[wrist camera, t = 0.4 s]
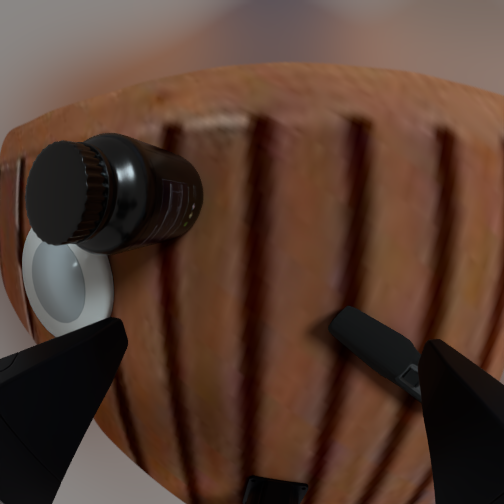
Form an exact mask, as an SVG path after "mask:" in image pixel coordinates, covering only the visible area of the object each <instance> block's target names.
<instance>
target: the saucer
mask: <svg viewBox="0 0 504 504" xmlns="http://www.w3.org/2000/svg"><path fill="white" fill-rule="evenodd" d="M22 270H23V279H24V285H25V289H26V293H27V296H28V299H29V301H30V304H31V306H32V308H33V310H34V312H35V314H36V315H37V317H38V319H39V320H40V321H41V323H42V324H43V325H44V327H45V328H46V329H47V330H48V331H49V332H50V333H51V334H53V335H54V336H55V337H59V336H62V335H64V334H67V333H69V332H72V331H74V330H77V329H80V328H82V327H85V326H87V325H90V324H92V323H95V322H98V321H100V320H103V319H105V318H108V317H110V316H111V312H112V308H113V301H114V284H113V276H112V271H111V267H110V263H109V260H108V257H107V255H105V256H101V255H94V254H91V253H88V252H86V251H84V250H82V249H81V248H79V247H78V246H77V245H75V244H66V245H59V246H54V245H48V244H47V243H46V242H42V240H41V239H40V238H38V237H37V235H36V233H35V232H33V229H32V228H31V230H30V232H29V234H28V236H27V239H26V242H25V245H24V250H23V259H22Z"/></svg>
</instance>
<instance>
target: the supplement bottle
mask: <svg viewBox="0 0 504 504" xmlns="http://www.w3.org/2000/svg"><path fill="white" fill-rule="evenodd" d="M25 200H26V210H27V216H28V218H29V223H30V225H31V226H32V229H33V232H35V233H36V235H37V237H38V238H40V239H41V240H42V242H46V243H47V244H48V245H54V246H59V245H66V244H75V245H77V246H78V247H79V248H81V249H82V250H84V251H86V252H88V253H91V254H94V255H101V256H105V255H113V254H118V253H121V252H125V251H129V250H133V249H136V248H140V247H144V246H148V245H152V244H155V243H159V242H163V241H167V240H170V239H174V238H176V237H178V236H180V235H182V234H183V233H185V232H186V231H187V230H189V229H190V228H191V226H192V225H193V224H194V223H195V221H196V219H197V218H198V216H199V213H200V211H201V208H202V203H203V186H202V182H201V179H200V176H199V174H198V172H197V171H196V169H195V168H194V166H193V165H192V164H191V163H190V162H189V161H187V160H186V159H184V158H183V157H181V156H179V155H176V154H174V153H172V152H169V151H167V150H164V149H161V148H159V147H156V146H153V145H150V144H148V143H145V142H142V141H139V140H137V139H134V138H131V137H128V136H125V135H121V134H117V133H103V134H99V135H96V136H93V137H91V138H89V139H87V140H86V141H84V142H71V141H59V142H54V143H53V144H50V145H48V146H47V147H46V148H45V149H43V150H42V152H41V153H40V154H39V155H38V156H37V158H36V160H35V161H34V162H33V166H32V168H31V170H30V173H29V176H28V179H27V185H26V195H25Z"/></svg>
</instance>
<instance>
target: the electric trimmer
mask: <svg viewBox="0 0 504 504" xmlns="http://www.w3.org/2000/svg"><path fill="white" fill-rule="evenodd" d="M328 330H329V332H330V333H331V334H332V335H333V336H334V337H335V338H337V339H338V340H339V341H340V342H341V343H342V344H344V345H345V346H346V347H347V348H348V349H350V350H351V351H352V352H353V353H354V354H356V355H357V356H358V357H359V358H360V359H361V360H363V361H364V362H365V363H366V364H367V365H369V366H370V367H371V368H372V369H374V370H375V371H376V372H378V373H379V374H380V375H382V376H383V377H385V378H387V379H389V380H390V381H392V382H393V383H395V384H397V385H398V386H400V387H401V388H402V389H404V390H405V391H406V392H408V393H409V394H410V395H412V396H413V397H414V398H415V399H417V400H418V401H419V402H421V403H422V401H421V391H420V383H419V375H418V363H419V360H420V357H421V354H420V353H419V352H418V351H417V350H416V349H415V347H414V345H413V344H412V342H411V341H410V340H409V339H407V338H406V337H404V336H403V335H401V334H399V333H398V332H396V331H394V330H393V329H391V328H389V327H387V326H386V325H384V324H382V323H380V322H379V321H377V320H375V319H374V318H372V317H370V316H368V315H367V314H365V313H363V312H361V311H360V310H358V309H356V308H353V307H351V306H347V307H345V308H344V309H343V310H342V311H341V312H340V313H339V314H338V315H337V316H336V317H335V318H334V319H333V321H332V322H331V323H330V325H329V327H328Z"/></svg>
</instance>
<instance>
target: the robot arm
mask: <svg viewBox="0 0 504 504" xmlns="http://www.w3.org/2000/svg"><path fill="white" fill-rule="evenodd" d="M127 346H128V338H127V335H126V332H125V328H124V325H123V322H122V320H121V319H119V318H114V317H108V318H105V319H103V320H100V321H98V322H95V323H92V324H90V325H87V326H85V327H82V328H80V329H77V330H74V331H72V332H69V333H67V334H64V335H62V336H59V337H56V338H54V339H51V340H49V341H46V342H43V343H41V344H38V345H36V346H33V347H30V348H28V349H25V350H23V351H20V352H19V353H18V352H17V353H15V354H12V355H10V356H7V357H4V358H2V359H0V504H52V503H53V500H54V498H55V496H56V493H57V491H58V489H59V487H60V484H61V482H62V480H63V478H64V476H65V474H66V471H67V469H68V467H69V465H70V463H71V461H72V459H73V457H74V455H75V453H76V451H77V449H78V447H79V445H80V443H81V441H82V439H83V437H84V434H85V433H86V431H87V429H88V427H89V425H90V423H91V421H92V419H93V417H94V415H95V414H96V412H97V410H98V408H99V406H100V404H101V402H102V400H103V399H104V397H105V395H106V393H107V391H108V389H109V387H110V386H111V384H112V381H113V379H114V377H115V374H116V372H117V370H118V367H119V365H120V363H121V360H122V358H123V356H124V354H125V351H126V349H127ZM418 375H419V383H420V391H421V401H422V410H423V417H424V423H425V428H426V433H427V439H428V445H429V451H430V458H431V465H432V472H433V481H434V490H435V502H436V504H504V385H503V384H502V383H500V382H499V381H498V380H496V379H495V378H494V377H492V376H491V375H490V374H488V373H487V372H485V371H484V370H483V369H481V368H480V367H479V366H477V365H476V364H474V363H473V362H472V361H470V360H469V359H467V358H466V357H465V356H463V355H462V354H460V353H459V352H458V351H456V350H455V349H453V348H452V347H451V346H449V345H448V344H446V343H445V342H443V341H442V340H440V339H433V340H428V341H427V342H426V343H425V346H424V349H423V351H422V354H421V357H420V360H419V363H418ZM307 490H308V485H307V484H303V483H294V482H287V481H280V480H274V479H268V478H263V477H257V476H251V477H250V478H249V482H248V485H247V489H246V492H245V496H244V499H243V504H300V503H301V501H302V499H303V497H304V496H305V494H306V492H307Z"/></svg>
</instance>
